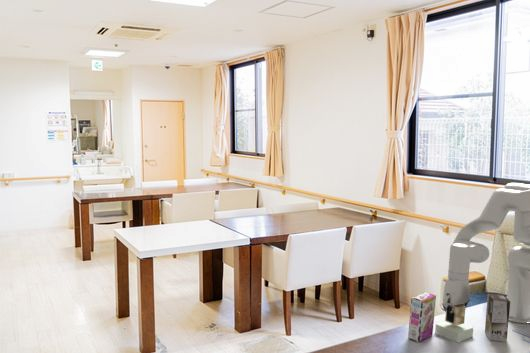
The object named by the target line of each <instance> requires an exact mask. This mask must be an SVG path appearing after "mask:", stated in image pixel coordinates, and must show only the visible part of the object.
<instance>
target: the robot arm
mask: <svg viewBox="0 0 530 353" xmlns="http://www.w3.org/2000/svg"><path fill="white" fill-rule="evenodd" d="M510 211H511V212H514V220H513V221H514V223H513V239H514V241H515V242H517V244H520V245H525V246H520V245H518V246H514V247H512V248H510V250H509V251H508V254H507V261H508V262H507V263H508V282H507V283H508V284H507V294H506V297H507V298H508V300H509V301H510V311H509V321H510V322H513V323H517V324H526V323H527V322H530V184H526V183H520V182H510V183H507V184H505V185H504V187H503V188H498V189H495V190H494V191H493V192H492V194H491V196H490V198H489V199H488V201H487V203H486V204H485V206H484V208H483V209H482V211H481V214H480V216H478V217H477V218H475V219H473V220H471V221H470V222H468V223H466V224H465V225H464V226H463V227H462V228H461V229H460V230H459V232H458V233H457V234H456V237H455V238H454V240H453V242H452V243H451V244H450V247H449V259H448V260H449V261H448V269H447V270H448V271H447V278H446V280H445V282H444V287H443V288H444V289H443V295H442V304H441V305H442V306H443V307H444V309H445V312H446V311H447V315H446V314H445V316H446V320H447V321H449V322H451V323H453V322H454V313H453V312H454V308H455V305H459V304H461V305H464V306H466V307H467V306H468V304H469V302H470V301H471V300H470V282H469V281H470V279H469V278H470V277H469V276H470V266H471V263H475V264H476V263H477V264H480V263H481V264H482V263H484V262H486V261H487V260H488V259H489V257H490V249H489V248H488V247H487V246H486V245H484V244H483V243H479V242H475V241H471V240H472V238H474V237H475V236H477V235H479V234H482V233H485V232H491V231H495V230H498V229H500V228H501V226H502V224H503V223H504V220H505V219H506V217H507V215H508V213H509V212H510ZM526 246H529V247H526ZM450 305H451V306H452V307H451V308H450ZM466 307H465V310H466ZM527 324H528V323H527Z"/></svg>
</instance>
